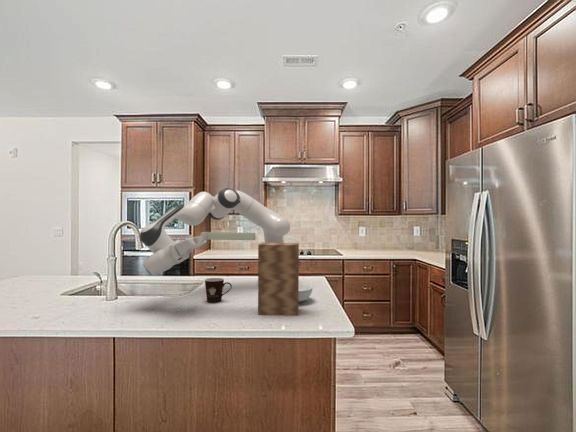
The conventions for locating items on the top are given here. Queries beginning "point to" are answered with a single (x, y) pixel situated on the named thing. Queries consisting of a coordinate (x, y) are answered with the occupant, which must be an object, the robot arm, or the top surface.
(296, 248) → the stand
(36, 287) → the top surface
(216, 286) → the coffee mug
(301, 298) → the serving bowl
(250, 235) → the pale green bar
